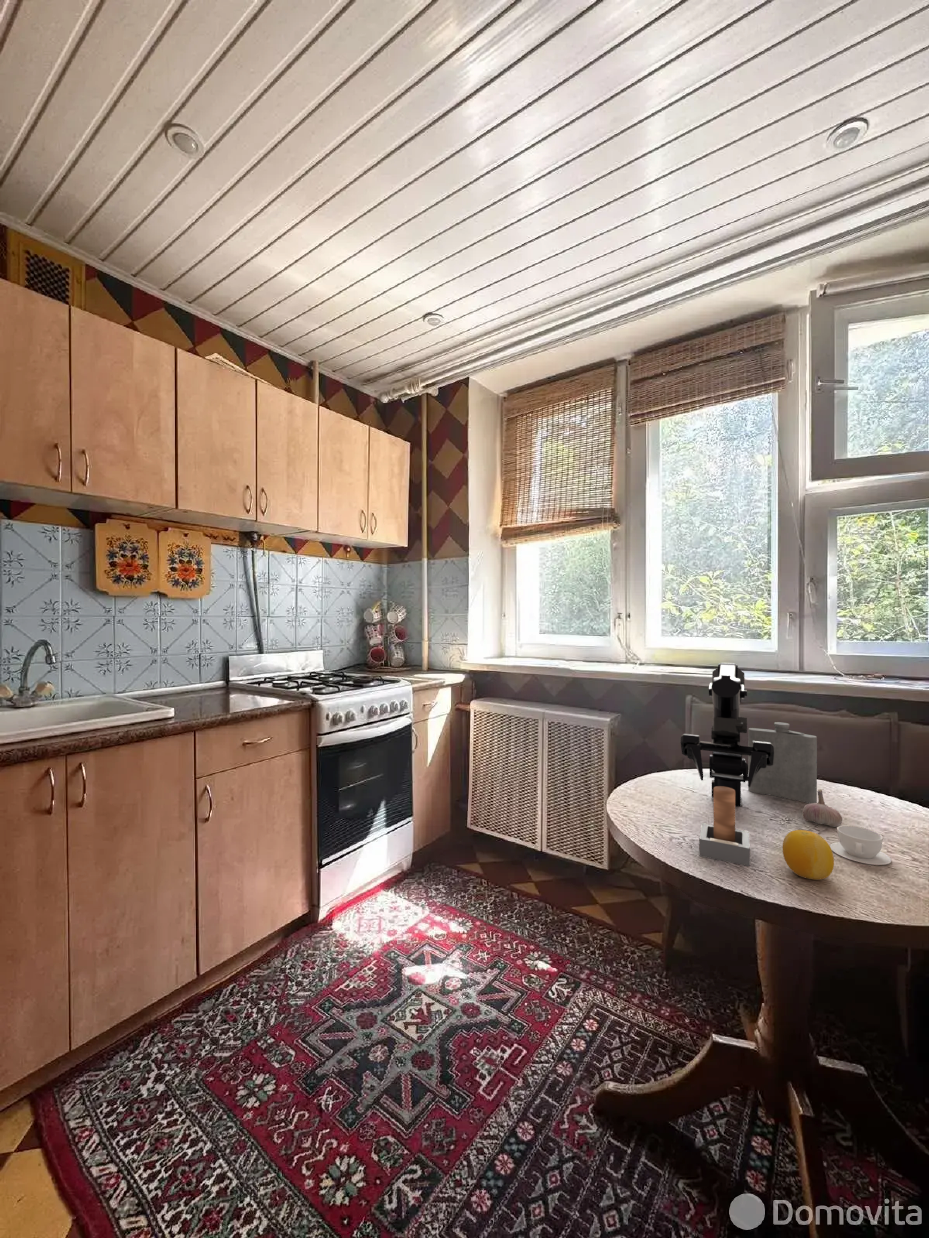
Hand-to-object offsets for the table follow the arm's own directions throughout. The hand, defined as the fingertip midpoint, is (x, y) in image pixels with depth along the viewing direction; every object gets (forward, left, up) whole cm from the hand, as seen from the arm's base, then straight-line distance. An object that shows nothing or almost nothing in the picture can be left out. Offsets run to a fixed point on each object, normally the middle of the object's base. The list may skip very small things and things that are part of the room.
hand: (725, 782), depth 109 cm
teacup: (-25, -6, -13) cm, 28 cm away
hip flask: (-13, -39, -13) cm, 43 cm away
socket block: (0, +6, -13) cm, 14 cm away
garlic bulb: (-20, -22, -13) cm, 32 cm away
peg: (0, +6, -13) cm, 14 cm away
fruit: (-14, +9, -13) cm, 21 cm away
